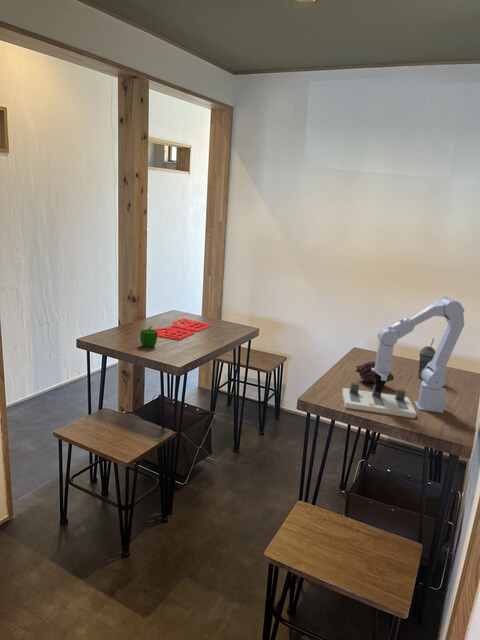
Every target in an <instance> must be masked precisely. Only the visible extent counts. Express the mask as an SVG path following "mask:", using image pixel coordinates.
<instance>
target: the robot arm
mask: <svg viewBox="0 0 480 640" xmlns="http://www.w3.org/2000/svg"><path fill="white" fill-rule="evenodd" d="M464 312H465V309H464V307H463V305H462V304H461V302H459V301H456V300H454V299H452V298H451V297H449V296H443V297H440V298H439V299H437V300H435V301H433V302H432V303H431V304H430V305H428V306H427V307H425V308H423V309H422V310H421V311H419V312H417V313H416V314H414V315H413V316H411V317H409V318H407V317H404V318H402V317H401V318H399V319H398V322H396V323H394V324H392V325H388V327H387V328H382V329H381V330H380V331H379V333H377V338H378V346H377V352H376V358H375V362H376V363H375V368H371V370H372V371H375V372H376V373H373V374H374V378H375V382H374V385H375V390H376V392H380V393H381V394H382V391H383V389H384V387H385V385H386V383H387V382H388V381H387V380H388V379H389V377H388V375H389V374H390V372H391V365H392V359H393V355H394V354H393V353H394V346H395V345H396V344H397V342H398V340H400V339H401V338H403V337H405V336H406V335H408V334H410V333H412V332H413V331H414V330H415V327H417V326H418V325H420V324H422V323H424V322H425V321H428V320H429V319H431V318H434V317H440V318H441V317H443V318H444V319H445V321H446V323H447V324H446V325H447V326H446V328H445V330H444V332H443V334H442V337H441V339H440V341H439V344H438V346H437V348H436V350H435V355H434V357H433V359H432V361H430V362H429V363H428V364H427V366H426V367H425V368H424V369H423V370H422V371H421V378H422V379H423V380H422V379H421V384H420V388H419V393H418V399H417V400H414V403H415V406H416V408H417V409H418V410H421V411H427V412H434V413H439V414H440V413H441V414H443V413H444V410H445V409H444V407H445V404H446V400H447V399H446V398H447V390H446V388H444V386H445V383H446V379H445V378H446V376H447V369H446V366H447V364H448V362H449V360H450V357H451V355H452V353H453V351H454V349H455V346H456V344H457V343H458V342H457V341H458V340H459V338H460V335H461V333H462V331H463V328H464V327H465V317H464V315H465V314H464Z"/></svg>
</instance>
